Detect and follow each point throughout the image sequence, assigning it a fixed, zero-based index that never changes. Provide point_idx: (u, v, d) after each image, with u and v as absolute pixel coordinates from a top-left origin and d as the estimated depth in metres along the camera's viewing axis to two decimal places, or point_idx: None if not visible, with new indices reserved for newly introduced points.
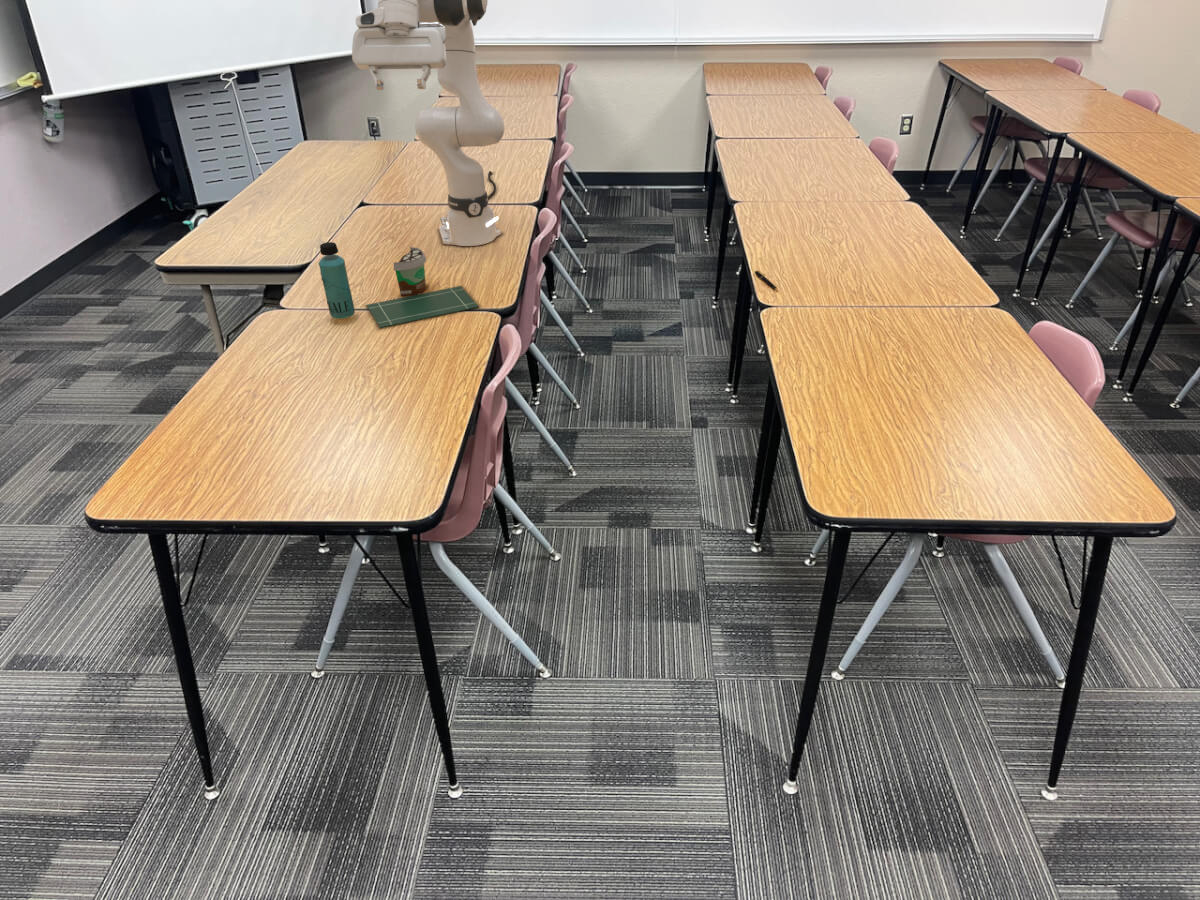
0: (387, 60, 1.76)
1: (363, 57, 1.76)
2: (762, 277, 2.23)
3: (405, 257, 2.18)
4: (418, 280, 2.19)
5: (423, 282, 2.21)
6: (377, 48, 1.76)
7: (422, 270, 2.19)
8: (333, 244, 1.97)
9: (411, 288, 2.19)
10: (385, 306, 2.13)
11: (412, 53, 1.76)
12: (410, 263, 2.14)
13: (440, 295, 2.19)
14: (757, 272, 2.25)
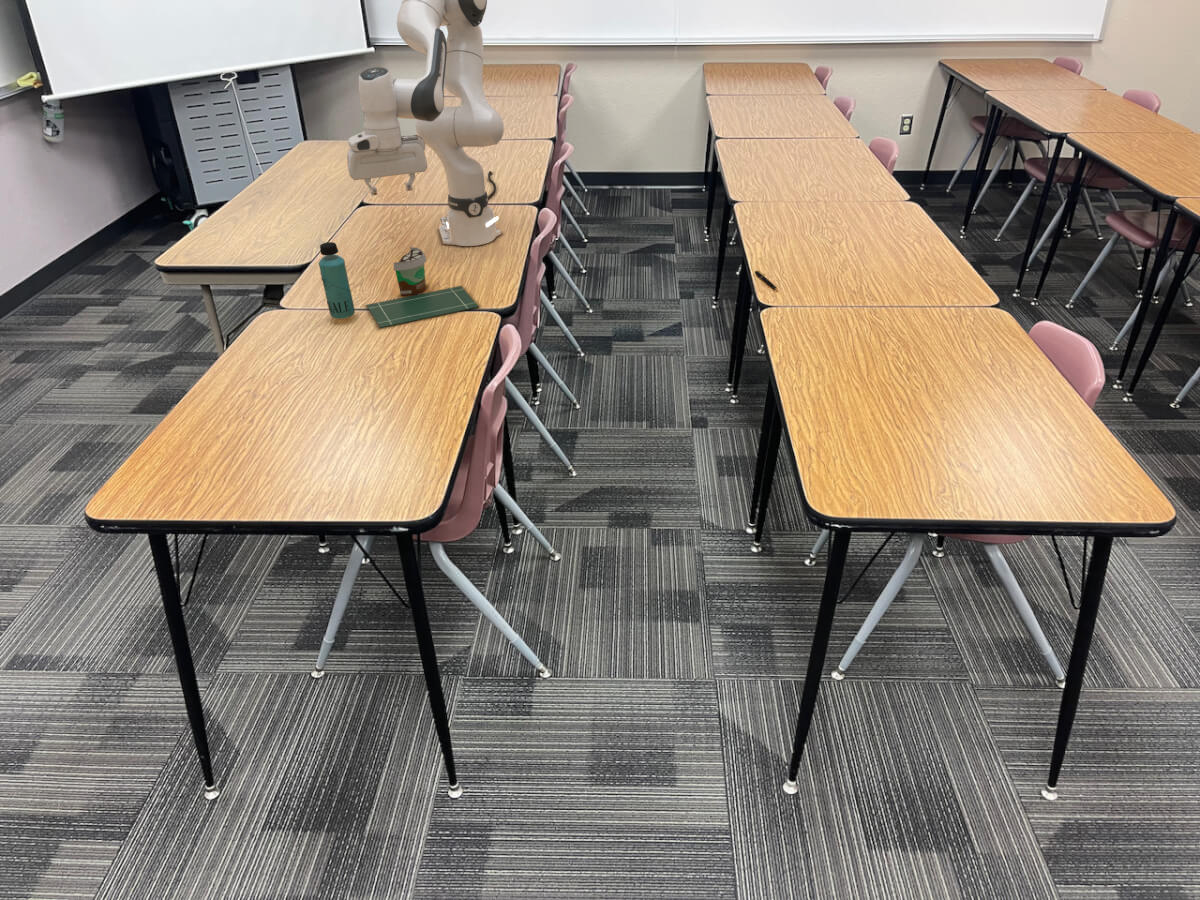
0: (381, 175, 2.11)
1: (361, 174, 2.09)
2: (762, 277, 2.23)
3: (405, 257, 2.18)
4: (418, 280, 2.19)
5: (423, 282, 2.21)
6: (372, 165, 2.09)
7: (422, 270, 2.19)
8: (333, 244, 1.97)
9: (411, 288, 2.19)
10: (385, 306, 2.13)
11: (402, 166, 2.12)
12: (410, 263, 2.14)
13: (440, 295, 2.19)
14: (757, 272, 2.25)
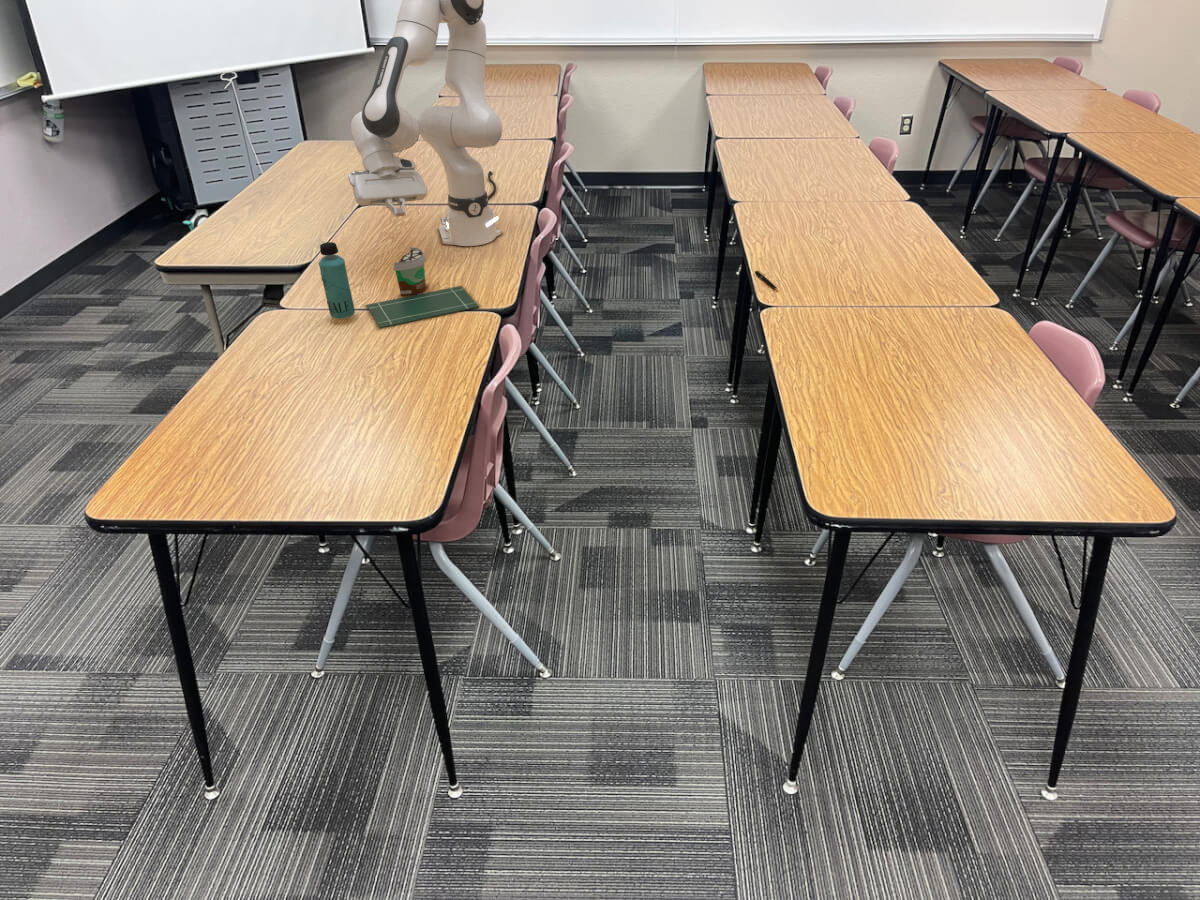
0: None
1: None
2: (762, 277, 2.23)
3: (405, 257, 2.18)
4: (418, 280, 2.19)
5: (423, 282, 2.21)
6: None
7: (422, 270, 2.19)
8: (333, 244, 1.97)
9: (411, 288, 2.19)
10: (385, 306, 2.13)
11: None
12: (410, 263, 2.14)
13: (440, 295, 2.19)
14: (757, 272, 2.25)
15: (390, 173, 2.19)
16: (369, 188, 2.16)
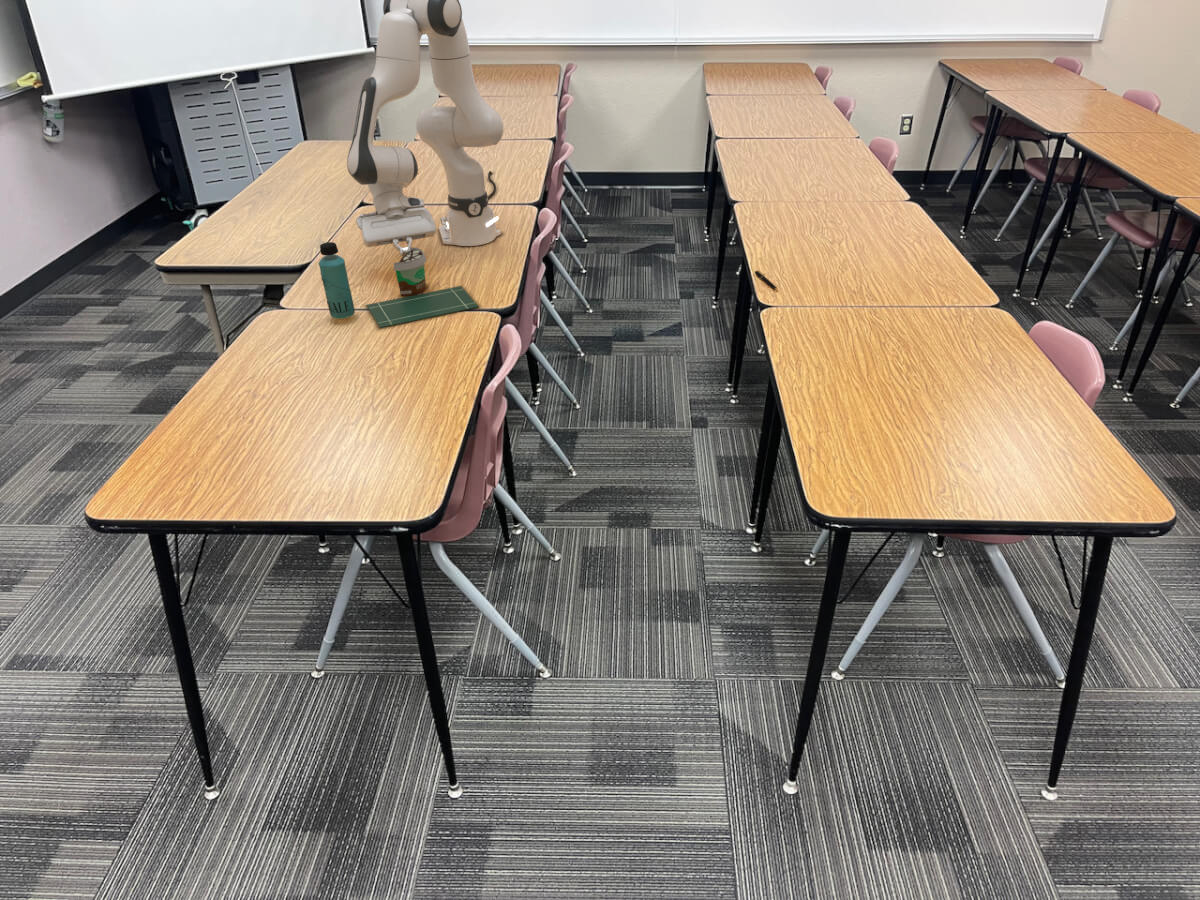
0: None
1: None
2: (762, 277, 2.23)
3: (405, 257, 2.18)
4: (418, 280, 2.19)
5: (423, 282, 2.21)
6: None
7: (422, 270, 2.19)
8: (333, 244, 1.97)
9: (411, 288, 2.19)
10: (385, 306, 2.13)
11: None
12: (410, 263, 2.14)
13: (440, 295, 2.19)
14: (757, 272, 2.25)
15: (396, 213, 2.22)
16: (374, 230, 2.20)
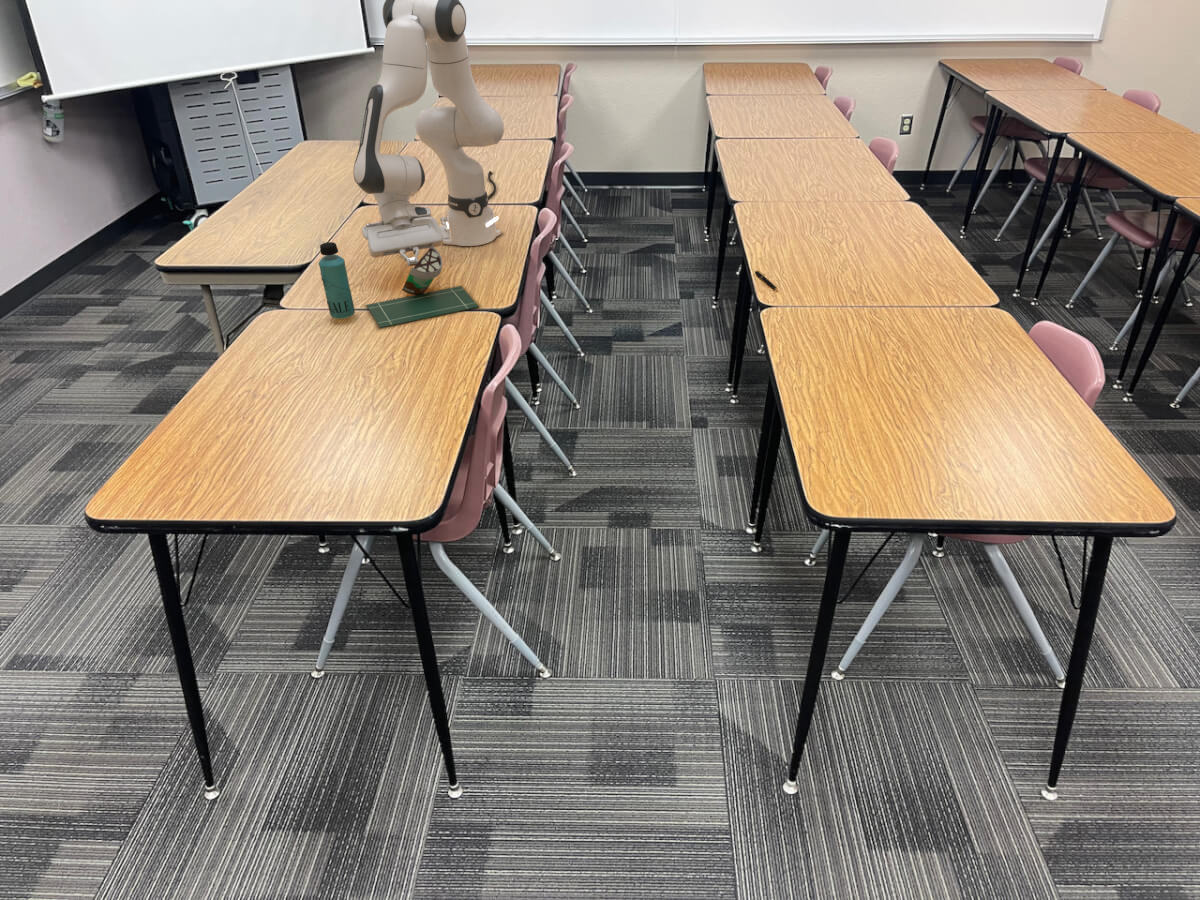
0: None
1: None
2: (762, 277, 2.23)
3: (424, 261, 2.14)
4: (426, 285, 2.18)
5: (428, 286, 2.20)
6: None
7: (433, 278, 2.17)
8: (333, 244, 1.97)
9: (415, 289, 2.17)
10: (385, 306, 2.13)
11: None
12: (427, 274, 2.12)
13: (440, 295, 2.19)
14: (757, 272, 2.25)
15: (403, 223, 2.18)
16: (380, 240, 2.17)
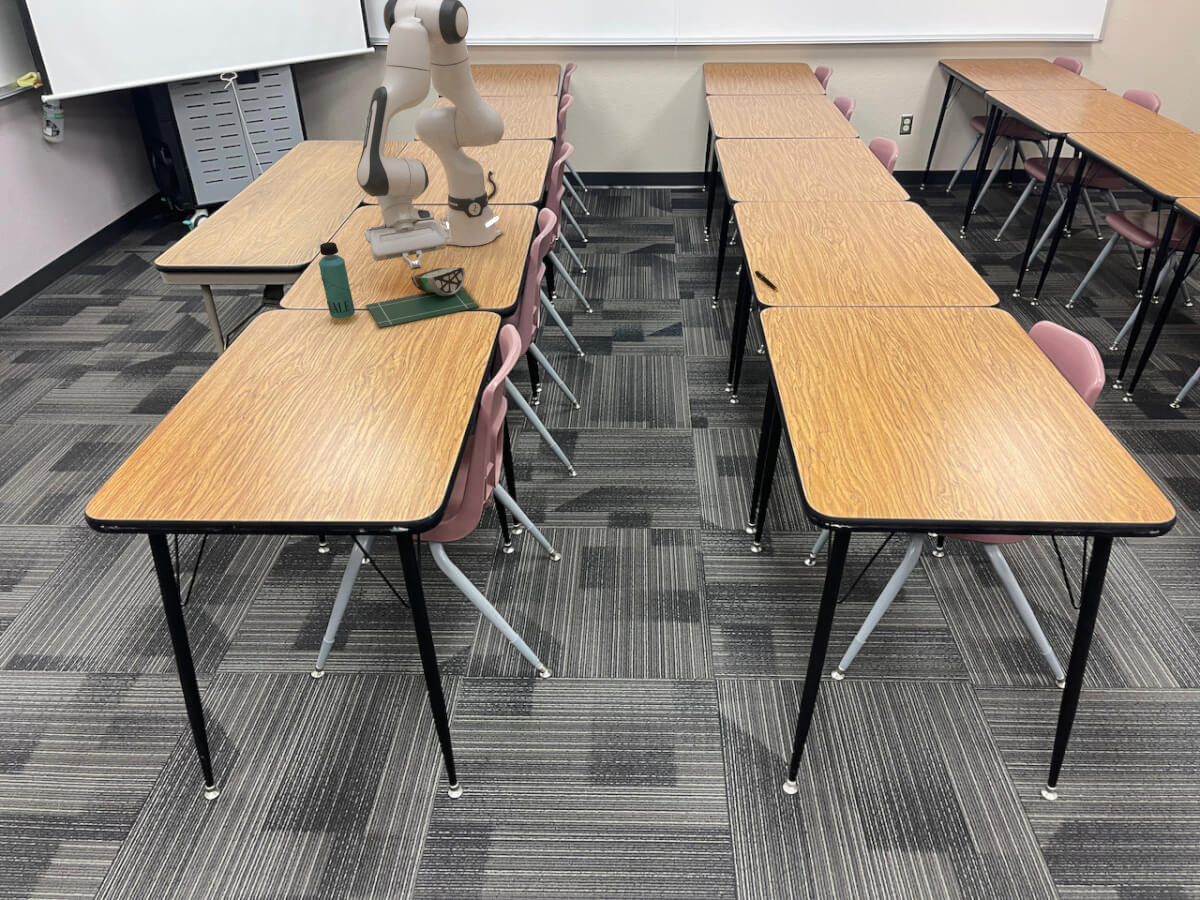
0: None
1: None
2: (762, 277, 2.23)
3: (447, 277, 2.15)
4: (431, 291, 2.19)
5: None
6: None
7: None
8: (333, 244, 1.97)
9: (421, 287, 2.18)
10: (385, 306, 2.13)
11: None
12: (439, 291, 2.14)
13: None
14: (757, 272, 2.25)
15: (406, 226, 2.16)
16: (383, 243, 2.15)
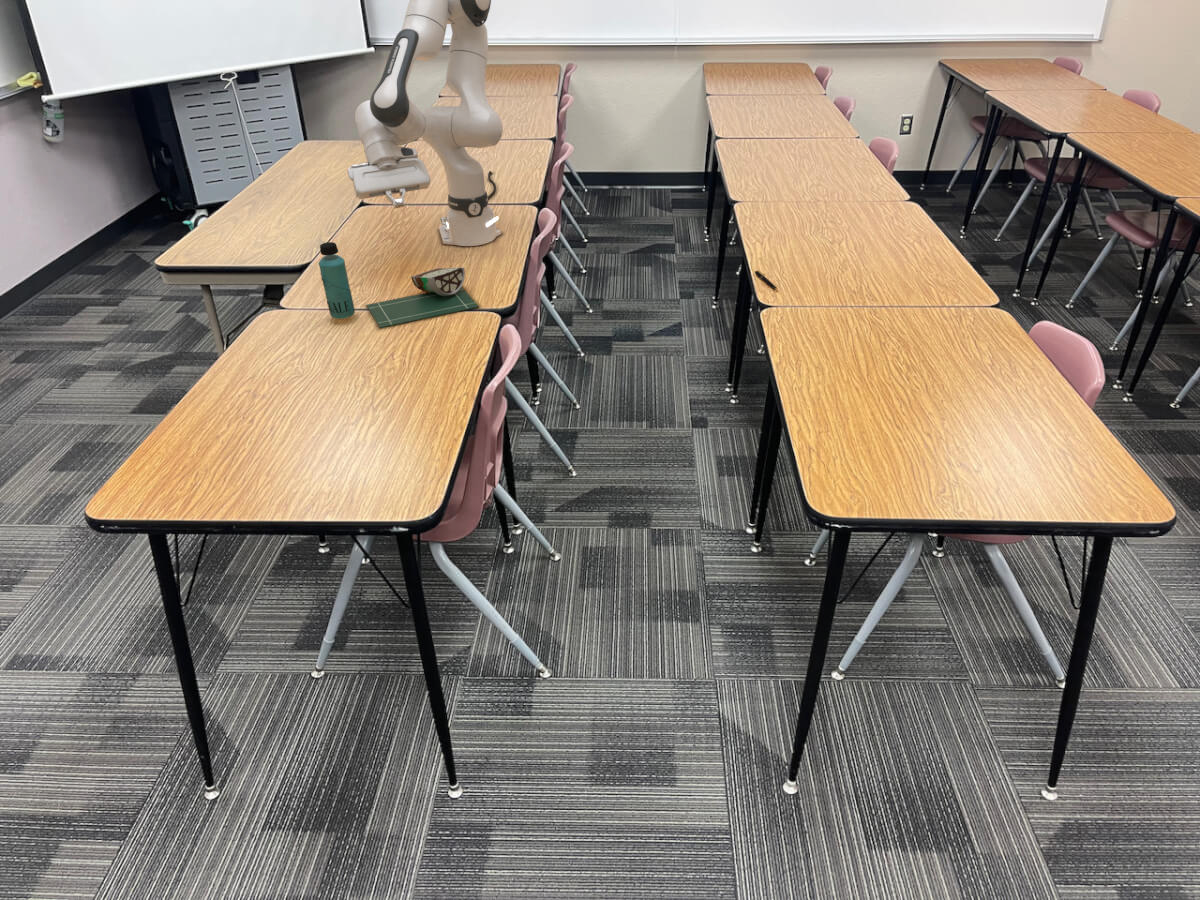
0: None
1: None
2: (762, 277, 2.23)
3: (447, 277, 2.15)
4: (431, 291, 2.19)
5: None
6: None
7: None
8: (333, 244, 1.97)
9: (421, 287, 2.18)
10: (385, 306, 2.13)
11: None
12: (439, 291, 2.14)
13: (440, 295, 2.19)
14: (757, 272, 2.25)
15: (389, 164, 2.15)
16: (366, 181, 2.13)
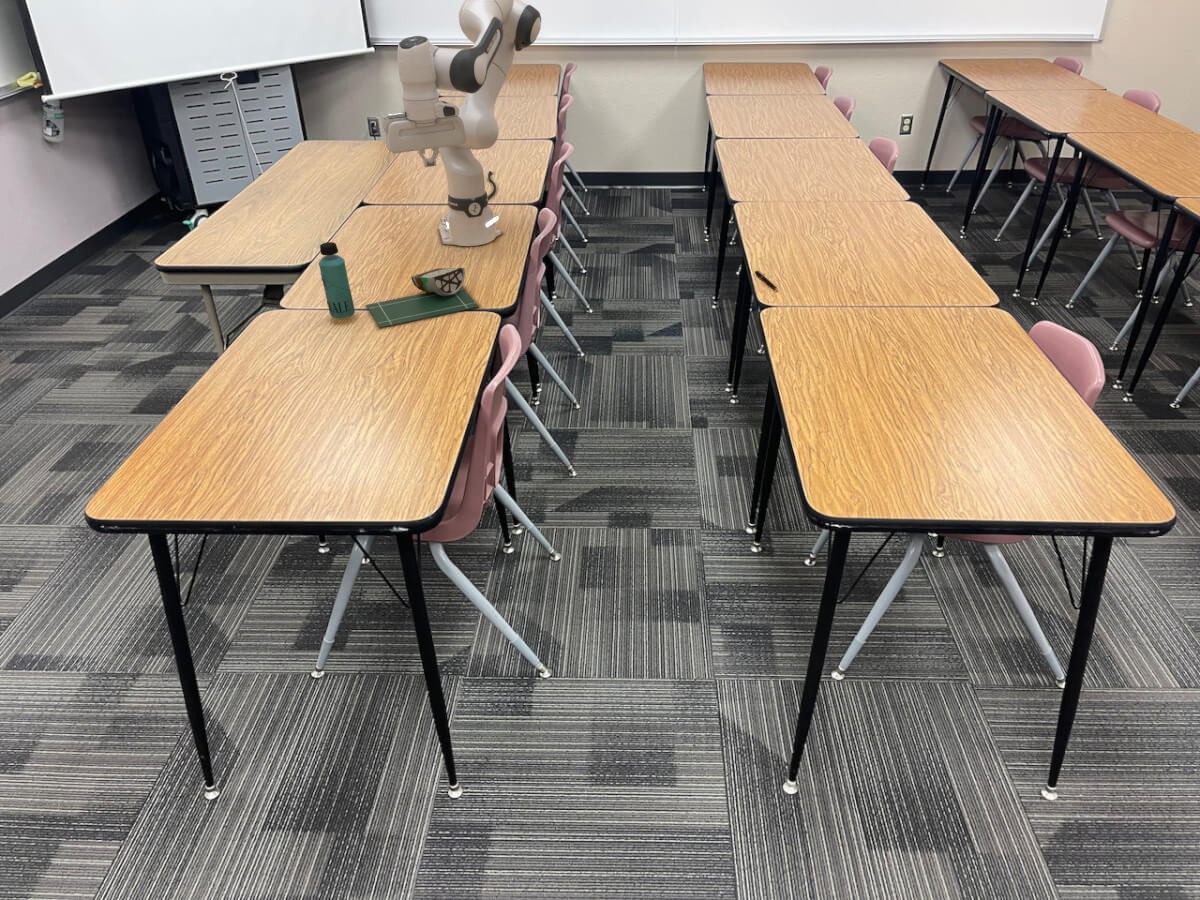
0: None
1: None
2: (762, 277, 2.23)
3: (447, 277, 2.15)
4: (431, 291, 2.19)
5: None
6: None
7: None
8: (333, 244, 1.97)
9: (421, 287, 2.18)
10: (385, 306, 2.13)
11: None
12: (439, 291, 2.14)
13: (440, 295, 2.19)
14: (757, 272, 2.25)
15: (428, 125, 2.03)
16: (402, 140, 2.03)
